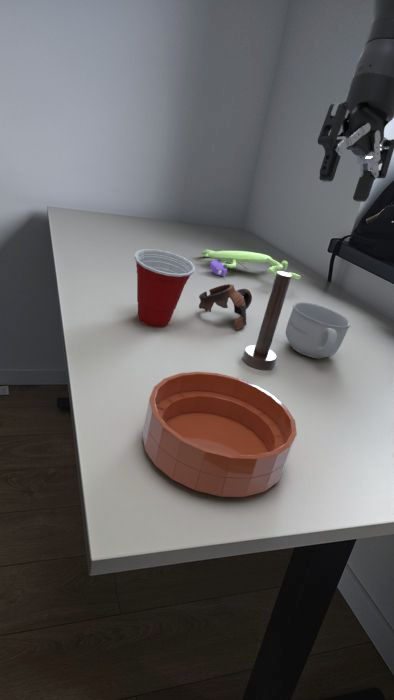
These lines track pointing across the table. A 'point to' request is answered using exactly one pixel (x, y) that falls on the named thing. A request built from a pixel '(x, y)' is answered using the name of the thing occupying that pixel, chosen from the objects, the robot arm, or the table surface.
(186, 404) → the bowl
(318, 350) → the teacup
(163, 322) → the plastic cup
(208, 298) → the brown curved piece
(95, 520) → the table surface
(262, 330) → the brown rod with base
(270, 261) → the figurine
